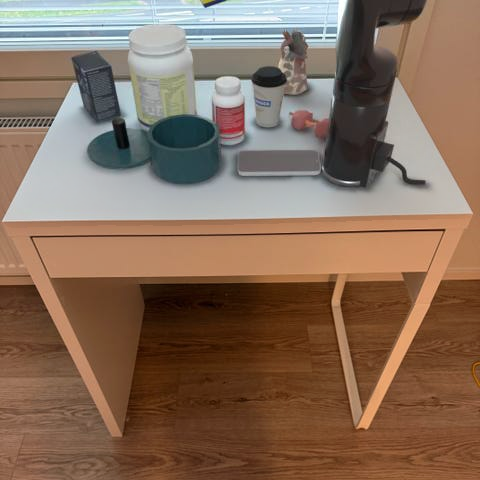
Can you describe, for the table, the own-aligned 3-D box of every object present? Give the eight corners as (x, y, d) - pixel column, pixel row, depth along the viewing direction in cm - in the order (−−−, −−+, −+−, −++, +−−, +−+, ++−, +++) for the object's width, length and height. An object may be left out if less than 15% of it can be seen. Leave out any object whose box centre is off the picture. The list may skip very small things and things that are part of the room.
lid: (173, 144, 96) (170, 113, 91) (130, 178, 88) (124, 147, 84) (119, 127, 101) (113, 97, 96) (73, 158, 93) (64, 128, 88)
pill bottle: (250, 140, 97) (251, 83, 88) (224, 149, 95) (222, 92, 86) (233, 127, 100) (232, 71, 92) (207, 135, 98) (204, 79, 90)
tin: (233, 157, 93) (232, 124, 88) (196, 191, 86) (193, 158, 81) (178, 140, 97) (174, 108, 92) (138, 171, 90) (132, 138, 85)
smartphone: (238, 150, 93) (317, 149, 92) (238, 154, 93) (317, 154, 93) (237, 172, 88) (321, 171, 87) (237, 176, 89) (321, 176, 88)
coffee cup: (271, 110, 104) (273, 60, 97) (291, 124, 100) (295, 73, 93) (244, 119, 102) (244, 69, 94) (263, 133, 98) (264, 82, 90)
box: (83, 108, 106) (70, 56, 98) (108, 101, 108) (97, 50, 100) (96, 123, 102) (83, 70, 93) (122, 116, 103) (111, 64, 95)
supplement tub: (155, 105, 107) (142, 18, 94) (207, 114, 104) (201, 25, 91) (127, 132, 99) (110, 41, 86) (182, 143, 96) (173, 51, 83)
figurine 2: (296, 120, 104) (279, 127, 99) (299, 103, 101) (281, 110, 97) (347, 136, 99) (332, 145, 94) (351, 119, 97) (336, 127, 92)
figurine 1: (308, 94, 109) (314, 35, 100) (277, 95, 109) (280, 36, 100) (304, 80, 114) (310, 23, 105) (274, 81, 114) (276, 23, 105)
